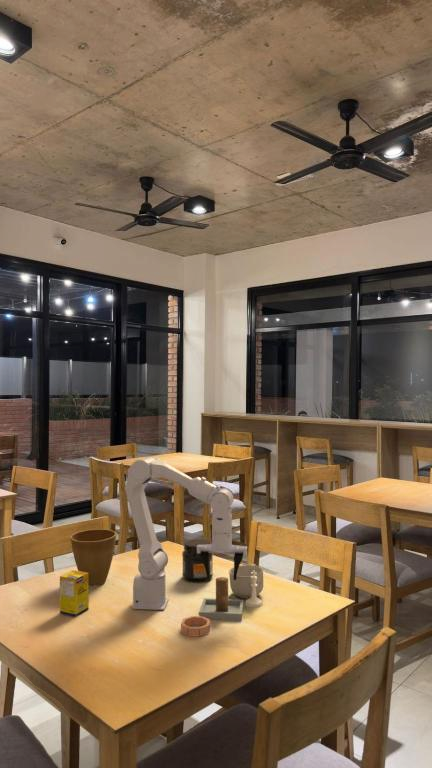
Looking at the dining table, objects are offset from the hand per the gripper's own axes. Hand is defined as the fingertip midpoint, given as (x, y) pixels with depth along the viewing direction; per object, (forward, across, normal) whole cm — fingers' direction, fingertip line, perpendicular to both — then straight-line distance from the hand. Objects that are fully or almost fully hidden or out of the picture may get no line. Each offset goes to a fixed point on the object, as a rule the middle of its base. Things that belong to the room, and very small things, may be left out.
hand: (221, 578), depth 158 cm
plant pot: (+10, -45, +19) cm, 50 cm away
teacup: (+10, +7, +15) cm, 19 cm away
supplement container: (+10, -11, +27) cm, 31 cm away
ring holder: (+10, -6, -12) cm, 17 cm away
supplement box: (+10, -43, -4) cm, 44 cm away
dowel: (+9, 0, 0) cm, 9 cm away
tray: (+10, 0, 0) cm, 10 cm away
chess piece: (+10, +9, +7) cm, 15 cm away
